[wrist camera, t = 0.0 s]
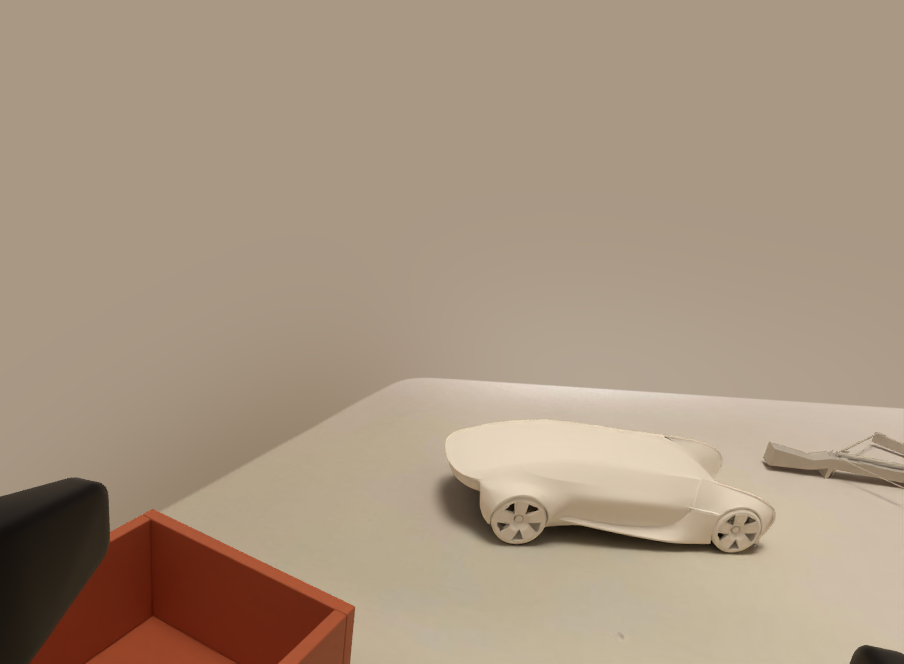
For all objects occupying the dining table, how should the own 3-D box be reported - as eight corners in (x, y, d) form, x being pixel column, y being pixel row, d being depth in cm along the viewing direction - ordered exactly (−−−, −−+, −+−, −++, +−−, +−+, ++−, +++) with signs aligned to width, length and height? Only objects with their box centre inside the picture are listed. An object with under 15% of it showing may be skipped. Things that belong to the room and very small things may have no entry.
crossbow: (938, 464, 54) (949, 441, 54) (1063, 565, 42) (1079, 537, 42) (736, 424, 54) (744, 400, 54) (802, 513, 42) (814, 484, 42)
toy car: (708, 480, 45) (725, 417, 44) (773, 555, 38) (796, 483, 36) (433, 465, 43) (442, 398, 41) (446, 543, 35) (456, 464, 34)
